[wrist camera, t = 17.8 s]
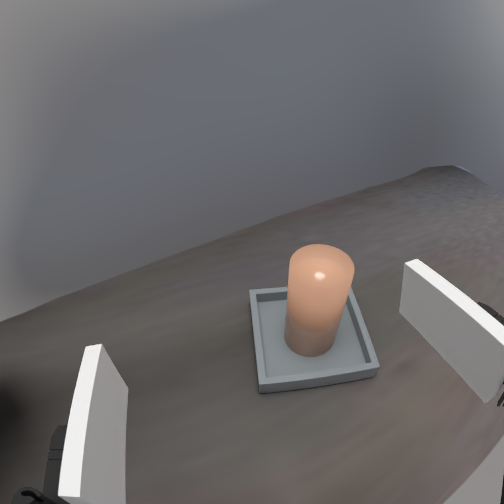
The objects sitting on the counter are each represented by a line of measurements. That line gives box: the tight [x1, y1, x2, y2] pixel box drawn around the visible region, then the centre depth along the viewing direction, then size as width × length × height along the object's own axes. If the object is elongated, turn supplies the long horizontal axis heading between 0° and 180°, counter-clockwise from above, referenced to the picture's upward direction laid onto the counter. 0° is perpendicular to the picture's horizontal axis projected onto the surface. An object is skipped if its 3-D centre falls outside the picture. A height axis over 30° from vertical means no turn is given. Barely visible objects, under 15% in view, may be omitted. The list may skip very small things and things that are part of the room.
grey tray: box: [249, 287, 380, 394], centre depth 38 cm, size 14×14×2 cm
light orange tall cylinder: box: [284, 244, 354, 357], centre depth 34 cm, size 6×6×12 cm
